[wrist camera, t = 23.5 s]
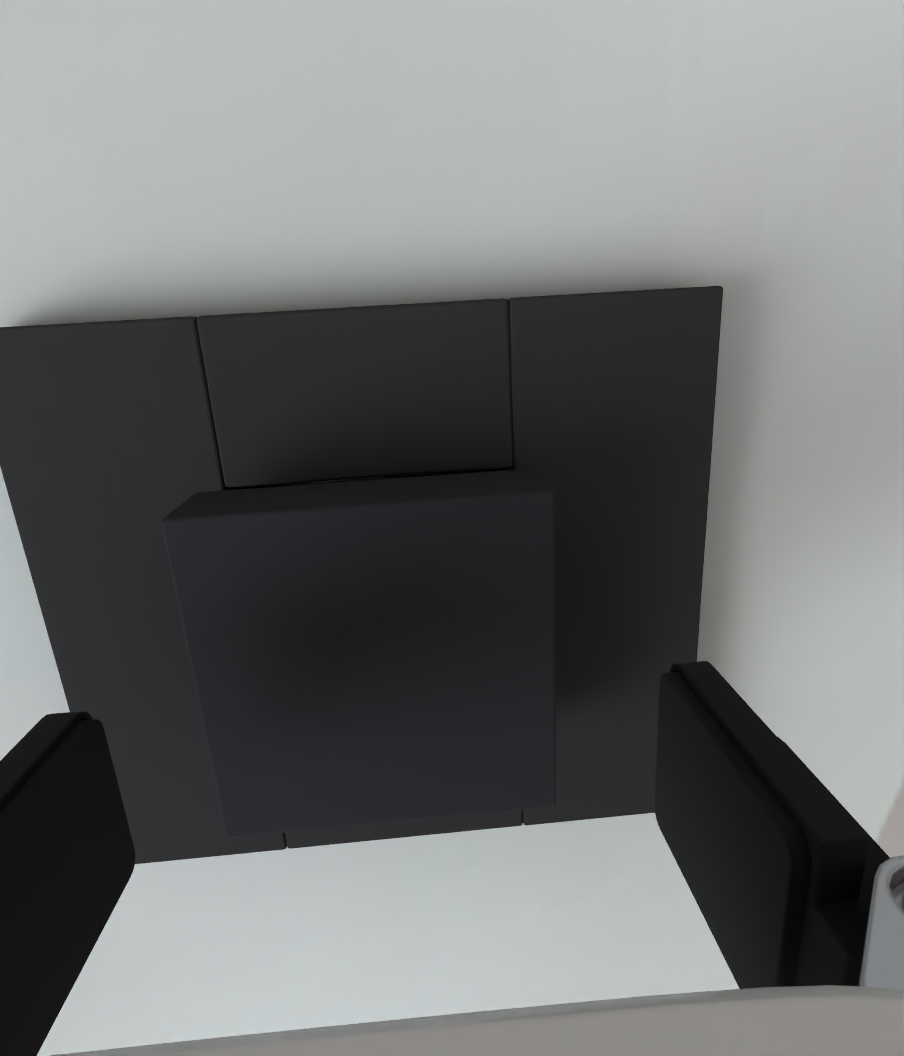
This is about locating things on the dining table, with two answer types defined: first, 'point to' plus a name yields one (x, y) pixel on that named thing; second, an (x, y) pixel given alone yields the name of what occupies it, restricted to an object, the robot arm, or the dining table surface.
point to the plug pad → (372, 647)
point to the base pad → (362, 452)
